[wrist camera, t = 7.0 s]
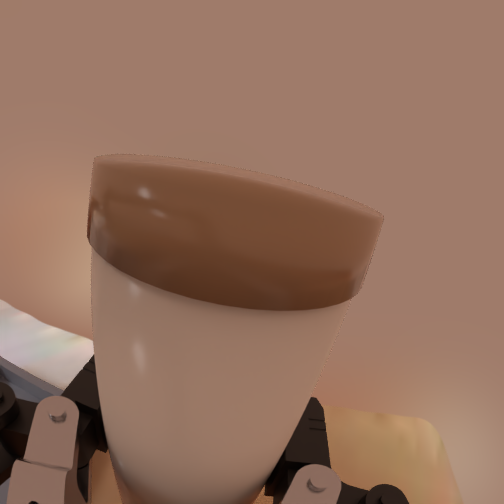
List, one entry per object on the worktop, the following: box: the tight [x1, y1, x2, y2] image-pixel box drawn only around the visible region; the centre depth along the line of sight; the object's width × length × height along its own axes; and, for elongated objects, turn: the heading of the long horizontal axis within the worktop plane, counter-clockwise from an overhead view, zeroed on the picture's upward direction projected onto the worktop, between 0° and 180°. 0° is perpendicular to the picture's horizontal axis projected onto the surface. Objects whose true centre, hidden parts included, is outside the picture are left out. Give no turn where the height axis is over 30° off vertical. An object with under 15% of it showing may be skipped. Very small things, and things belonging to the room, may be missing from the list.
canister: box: [87, 154, 384, 504], centre depth 8 cm, size 5×5×14 cm
